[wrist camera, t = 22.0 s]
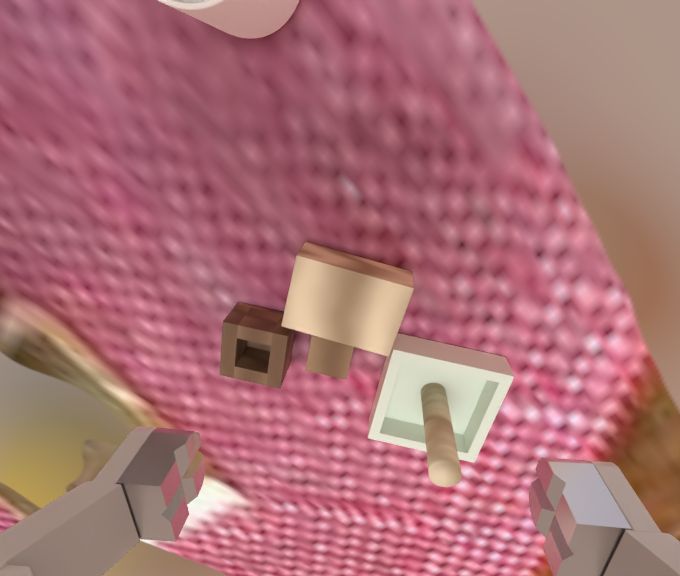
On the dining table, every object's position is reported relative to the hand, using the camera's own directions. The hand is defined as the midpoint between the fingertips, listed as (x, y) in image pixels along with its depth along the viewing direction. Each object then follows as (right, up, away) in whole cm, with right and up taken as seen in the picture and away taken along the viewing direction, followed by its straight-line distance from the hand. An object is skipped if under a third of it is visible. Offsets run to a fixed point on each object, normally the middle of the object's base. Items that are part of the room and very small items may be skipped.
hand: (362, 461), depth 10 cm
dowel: (+9, -6, +30) cm, 32 cm away
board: (0, +4, +28) cm, 28 cm away
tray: (+9, -6, +31) cm, 33 cm away
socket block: (-8, 0, +31) cm, 32 cm away
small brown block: (-1, -1, +30) cm, 30 cm away
